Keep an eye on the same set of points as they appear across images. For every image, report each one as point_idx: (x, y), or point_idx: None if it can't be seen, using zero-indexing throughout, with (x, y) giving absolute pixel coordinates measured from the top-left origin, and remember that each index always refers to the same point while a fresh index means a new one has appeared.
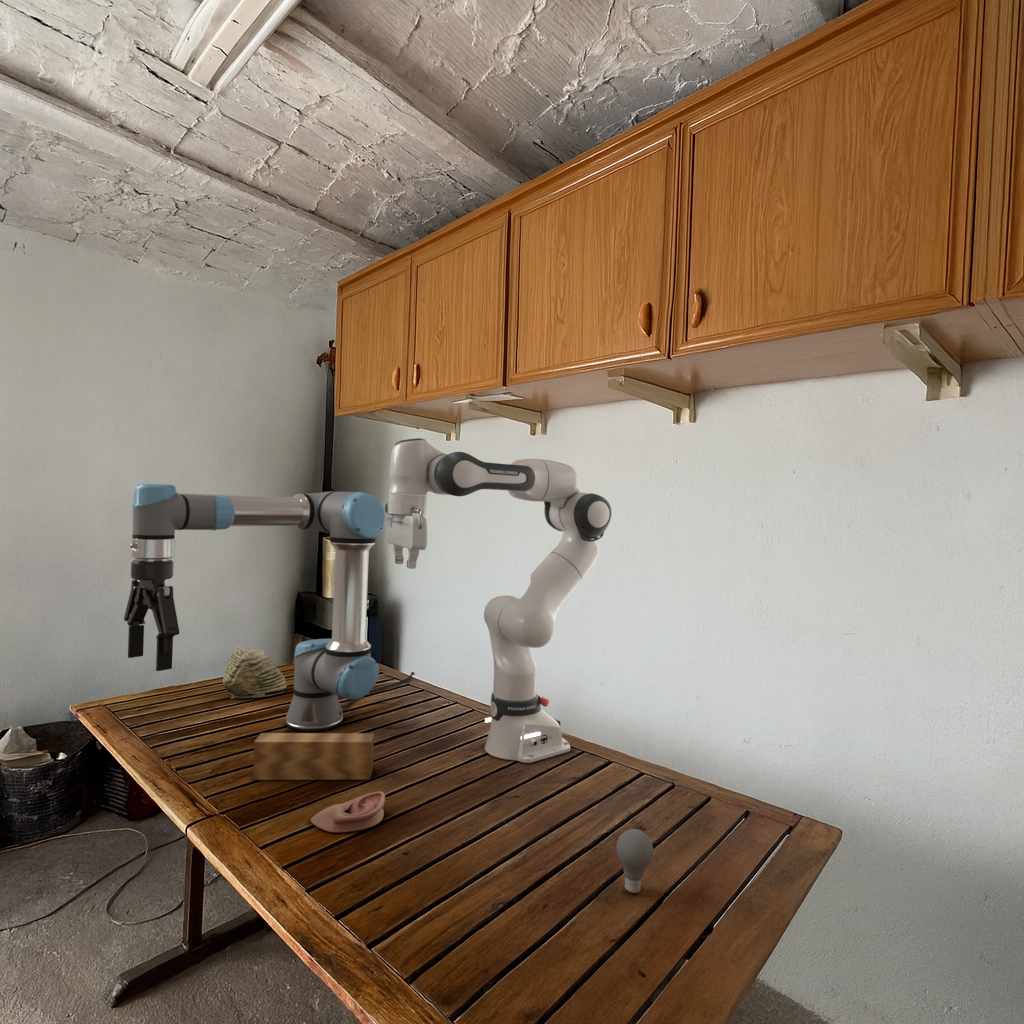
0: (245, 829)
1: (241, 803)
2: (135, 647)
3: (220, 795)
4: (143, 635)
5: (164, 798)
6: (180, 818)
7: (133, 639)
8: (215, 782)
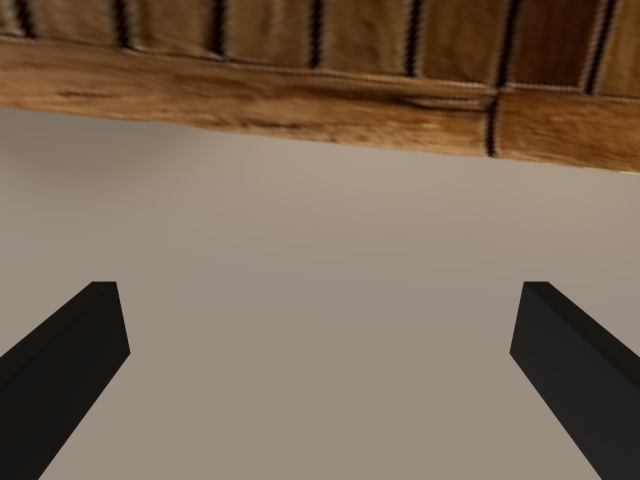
0: (597, 85)
1: (498, 30)
2: (89, 364)
3: (426, 44)
4: (16, 377)
5: (348, 139)
6: (453, 154)
7: (54, 426)
8: (354, 17)
